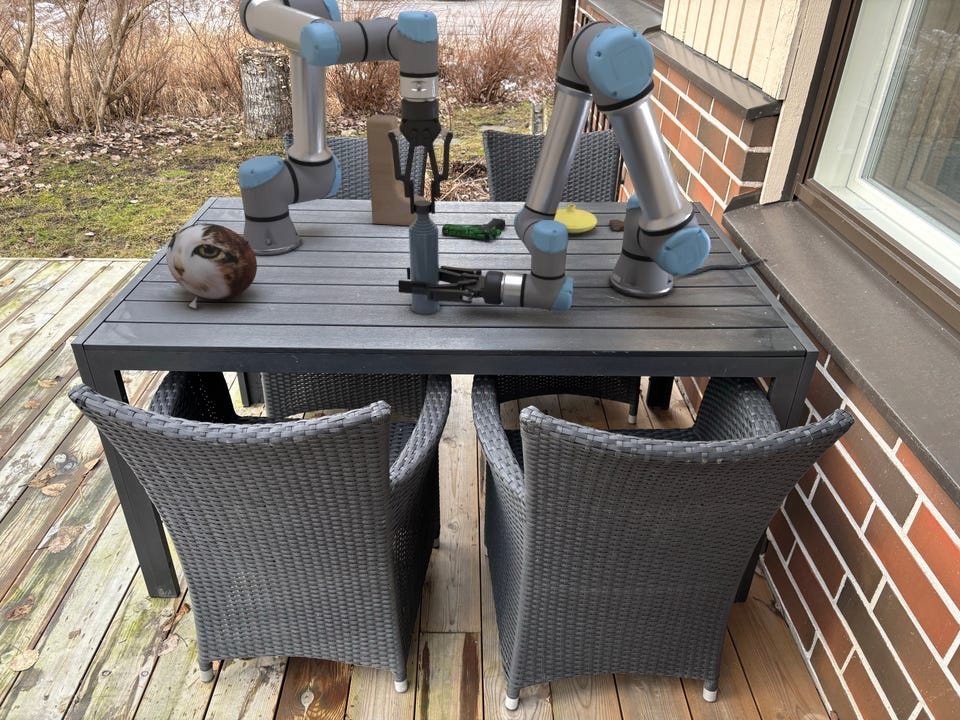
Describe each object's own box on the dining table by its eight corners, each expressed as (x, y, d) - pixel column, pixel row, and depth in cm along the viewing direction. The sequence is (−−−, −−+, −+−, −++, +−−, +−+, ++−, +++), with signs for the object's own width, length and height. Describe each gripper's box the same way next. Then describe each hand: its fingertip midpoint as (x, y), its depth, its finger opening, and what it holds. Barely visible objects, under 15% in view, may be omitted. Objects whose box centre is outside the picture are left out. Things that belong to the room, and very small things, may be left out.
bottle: (439, 313, 163) (437, 212, 151) (411, 314, 163) (407, 212, 150) (439, 301, 168) (437, 202, 156) (412, 301, 168) (408, 202, 156)
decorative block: (421, 227, 210) (418, 122, 195) (372, 224, 212) (365, 119, 197) (426, 218, 217) (424, 116, 201) (378, 215, 218) (372, 114, 203)
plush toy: (130, 285, 161) (164, 203, 163) (192, 308, 177) (221, 233, 178) (195, 307, 151) (229, 220, 152) (254, 330, 166) (285, 250, 168)
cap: (435, 211, 154) (435, 202, 153) (422, 215, 151) (422, 207, 150) (422, 207, 156) (422, 198, 155) (410, 211, 154) (409, 203, 153)
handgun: (511, 219, 210) (493, 234, 198) (511, 228, 211) (492, 244, 199) (461, 212, 215) (440, 226, 203) (461, 221, 217) (440, 236, 204)
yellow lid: (559, 216, 220) (561, 193, 217) (605, 227, 212) (608, 204, 209) (532, 230, 209) (533, 207, 206) (580, 242, 201) (582, 218, 198)
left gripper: (375, 101, 138) (382, 217, 150) (462, 102, 139) (462, 217, 151) (378, 94, 145) (384, 206, 157) (461, 94, 145) (461, 206, 157)
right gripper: (495, 323, 153) (392, 313, 157) (508, 285, 170) (414, 277, 173) (496, 291, 149) (390, 282, 153) (509, 256, 166) (413, 248, 169)
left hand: (422, 211), depth 154 cm, fingers closed on cap, 4 cm apart
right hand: (403, 279), depth 163 cm, fingers closed on bottle, 6 cm apart
